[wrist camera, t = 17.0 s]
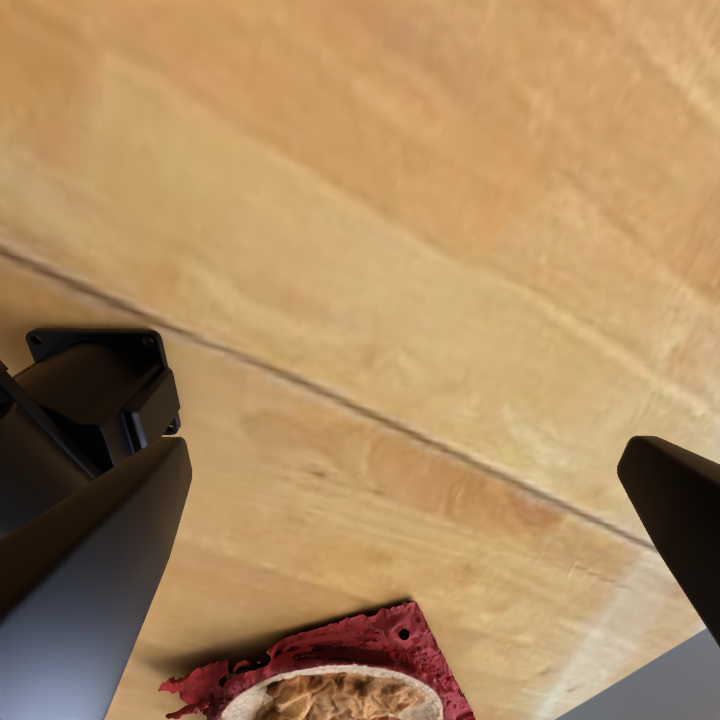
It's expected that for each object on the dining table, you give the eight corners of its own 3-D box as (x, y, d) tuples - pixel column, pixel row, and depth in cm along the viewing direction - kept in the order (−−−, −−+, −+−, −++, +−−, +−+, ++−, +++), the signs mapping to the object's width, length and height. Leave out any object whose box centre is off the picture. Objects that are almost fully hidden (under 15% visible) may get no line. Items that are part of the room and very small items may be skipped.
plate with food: (286, 760, 46) (283, 803, 43) (163, 669, 34) (147, 719, 31) (476, 714, 44) (487, 756, 41) (415, 598, 32) (425, 645, 29)
